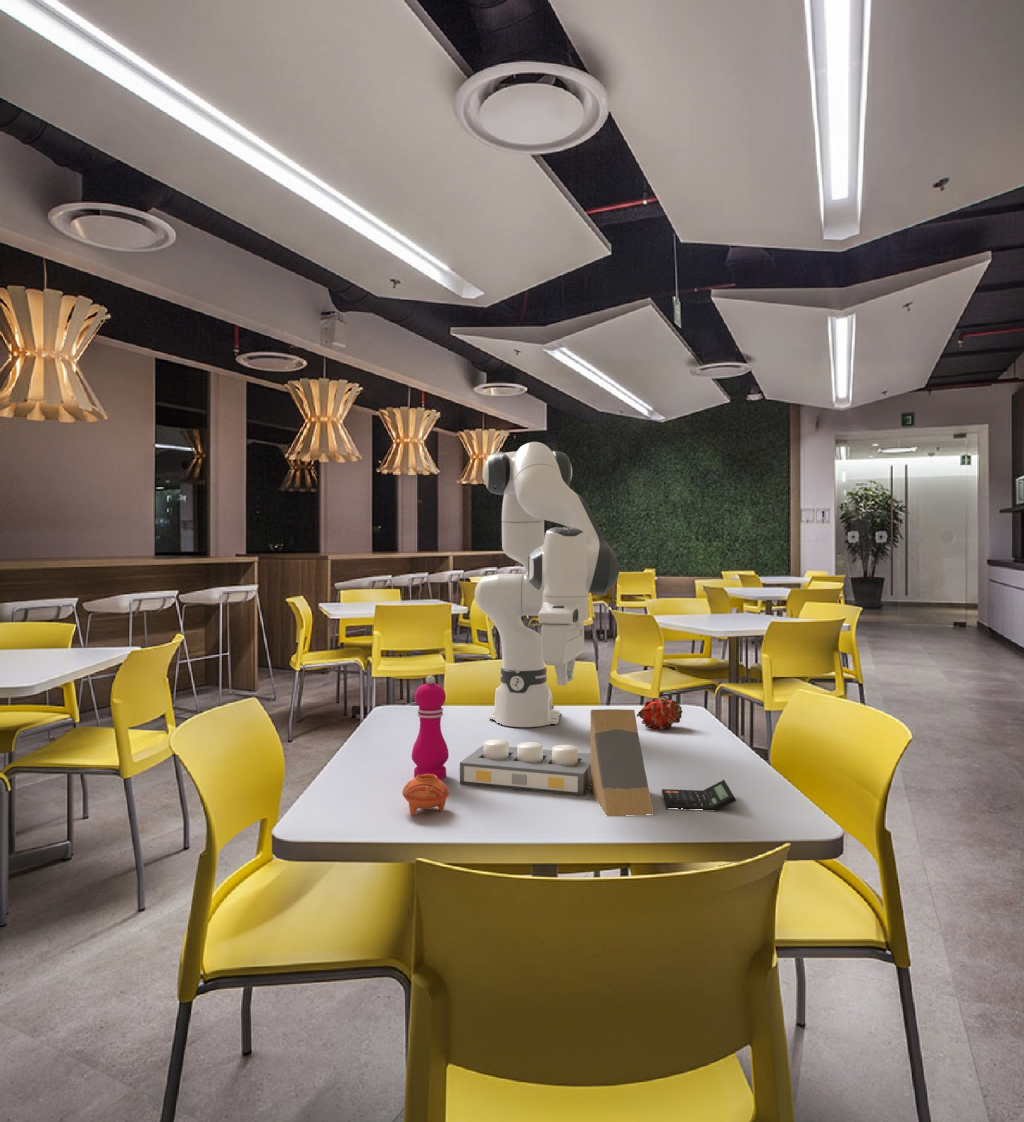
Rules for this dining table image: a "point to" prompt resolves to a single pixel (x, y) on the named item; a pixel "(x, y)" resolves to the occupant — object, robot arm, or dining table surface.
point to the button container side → (565, 755)
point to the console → (527, 773)
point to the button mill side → (496, 749)
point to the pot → (425, 793)
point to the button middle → (530, 752)
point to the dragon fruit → (660, 713)
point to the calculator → (699, 797)
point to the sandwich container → (618, 764)
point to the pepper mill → (430, 731)
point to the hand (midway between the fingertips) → (565, 682)
